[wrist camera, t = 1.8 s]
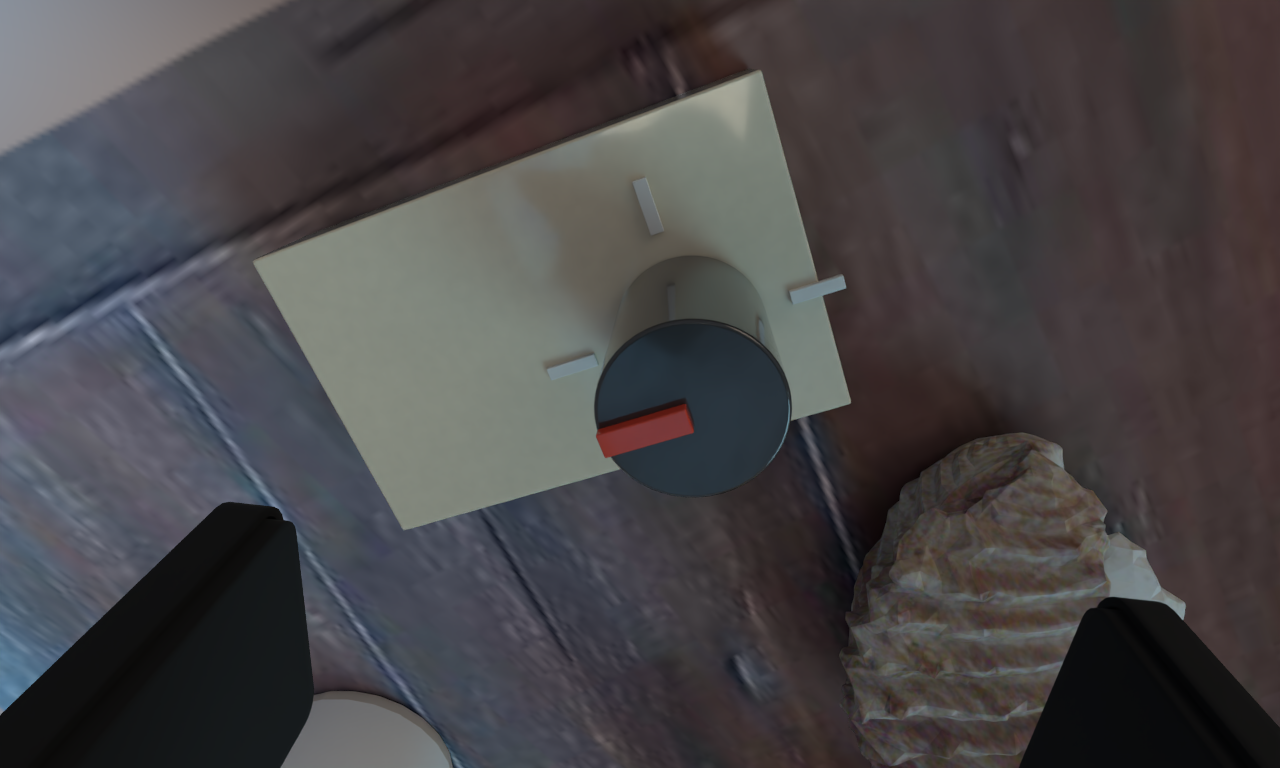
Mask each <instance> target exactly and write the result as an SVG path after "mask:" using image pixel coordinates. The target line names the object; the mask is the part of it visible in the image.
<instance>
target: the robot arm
mask: <svg viewBox="0 0 1280 768" xmlns="http://www.w3.org/2000/svg"><path fill="white" fill-rule="evenodd" d="M313 698H314V685H313V676H312V667H311V658H310V649H309V641H308V632H307V623H306V614H305V605H304V596H303V588H302V579H301V570H300V561H299V552H298V543H297V535H296V529H295V526H294V524H293V523H292V522H290V521H284V520H283V517H282V514H281V512H280V511H279V509H277V508H275V507H271V506H262V505H253V504H243V503H234V502H226V503H222V504H221V505H219V506H218V507H216V508H215V509H214V510H213V511H212V512H211V513H210V514H209V515H208V516H207V517H206V518H205V519H204V520H203V521H202V522H201V523H200V524H199V525H198V526H196V527H195V528H194V529H193V530H192V531H191V532H190V533H189V534H188V535H187V536H186V537H185V538H184V539H183V540H182V541H181V542H180V543H179V544H178V545H177V546H176V547H175V548H174V549H173V550H172V551H171V552H169V553H168V554H167V555H166V556H165V557H164V558H163V559H162V560H161V561H160V562H159V563H158V564H157V565H156V566H155V567H154V568H153V569H152V570H151V571H150V572H149V573H148V574H147V575H146V576H145V577H143V578H142V579H141V580H140V581H139V582H138V583H137V584H136V585H135V586H134V587H133V588H132V589H131V590H130V591H129V592H128V593H127V594H126V595H125V596H124V597H123V598H122V599H121V600H120V601H119V602H117V603H116V604H115V605H114V606H113V607H112V608H111V609H110V610H109V611H108V612H107V613H106V614H105V615H104V616H103V617H102V618H101V619H100V620H99V621H98V622H97V623H96V624H95V625H94V626H93V627H91V628H90V629H89V630H88V631H87V632H86V633H85V634H84V635H83V636H82V637H81V638H80V639H79V640H78V641H77V642H76V643H75V644H74V645H73V646H72V647H71V648H70V649H69V650H68V651H67V652H65V653H64V654H63V655H62V656H61V657H60V658H59V659H58V660H57V661H56V662H55V663H54V664H53V665H52V666H51V667H50V668H49V669H48V670H47V671H46V672H45V673H44V674H43V675H42V676H41V677H39V678H38V679H37V680H36V681H35V682H34V683H33V684H32V685H31V686H30V687H29V688H28V689H27V690H26V691H25V692H24V693H23V694H22V695H21V696H20V697H19V698H18V699H17V700H16V701H15V702H13V703H12V704H11V705H10V706H9V707H8V708H7V709H6V710H5V711H4V712H3V713H2V714H1V715H0V768H281V766H282V764H283V763H284V761H285V759H286V757H287V755H288V754H289V752H290V750H291V748H292V747H293V745H294V743H295V741H296V740H297V738H298V736H299V734H300V732H301V731H302V729H303V727H304V725H305V723H306V721H307V719H308V717H309V714H310V711H311V708H312V704H313ZM1019 768H1280V728H1279V726H1278V725H1277V724H1276V723H1275V722H1274V721H1273V720H1272V719H1271V718H1270V716H1269V715H1268V714H1267V713H1266V712H1265V711H1264V710H1263V709H1262V708H1261V706H1260V705H1259V704H1258V703H1257V702H1256V701H1255V700H1254V699H1253V698H1252V696H1251V695H1250V694H1249V693H1248V692H1247V691H1246V690H1245V689H1244V688H1243V686H1242V685H1241V684H1240V683H1239V682H1238V681H1237V680H1236V679H1235V678H1234V676H1233V675H1232V674H1231V673H1230V672H1229V671H1228V670H1227V669H1226V668H1225V666H1224V665H1223V664H1222V663H1221V662H1220V661H1219V660H1218V659H1217V658H1216V656H1215V655H1214V654H1213V653H1212V652H1211V651H1210V650H1209V649H1208V648H1207V646H1206V645H1205V644H1204V643H1203V642H1202V641H1201V640H1200V639H1199V638H1198V636H1197V635H1196V634H1195V633H1194V632H1193V631H1192V630H1191V629H1190V628H1189V626H1188V625H1187V624H1186V623H1185V622H1184V621H1183V620H1182V619H1181V618H1180V616H1179V615H1178V614H1177V613H1176V612H1175V611H1174V610H1173V609H1172V608H1170V607H1169V606H1168V605H1167V604H1164V603H1161V602H1158V601H1149V600H1139V599H1130V598H1121V597H1107V598H1105V599H1103V600H1102V601H1101V602H1100V603H1099V604H1098V606H1097V608H1090V609H1088V610H1087V611H1086V612H1085V614H1084V615H1083V617H1082V619H1081V621H1080V624H1079V626H1078V628H1077V631H1076V633H1075V635H1074V638H1073V640H1072V643H1071V645H1070V647H1069V650H1068V652H1067V654H1066V657H1065V659H1064V661H1063V664H1062V666H1061V668H1060V671H1059V673H1058V676H1057V678H1056V680H1055V683H1054V685H1053V687H1052V690H1051V692H1050V694H1049V697H1048V699H1047V701H1046V704H1045V706H1044V709H1043V711H1042V713H1041V716H1040V718H1039V720H1038V723H1037V725H1036V727H1035V730H1034V732H1033V734H1032V737H1031V739H1030V742H1029V744H1028V746H1027V749H1026V751H1025V753H1024V756H1023V758H1022V760H1021V763H1020V765H1019Z"/></svg>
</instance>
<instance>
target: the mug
mask: <svg viewBox="0 0 1280 768" xmlns="http://www.w3.org/2000/svg"><path fill="white" fill-rule="evenodd" d="M281 768H453V766H452V761H451V757H450V753H449V750H448V749H447V747H446V745H445V744H444V742H443V740H442V739H441V737H440V735H439V734H438V733H437V732H436V731H435V730H434V729H433V728H432V727H431V726H430V725H429V724H428V723H427V722H426V721H425V720H424V719H423V718H422V717H420V716H419V715H417V714H416V713H414V712H412V711H411V710H409V709H408V708H406V707H405V706H403V705H401V704H398V703H396V702H393V701H391V700H388V699H386V698H383V697H380V696H377V695H372V694H367V693H361V692H356V691H329V692H324V693H320V694H316V695H314V698H313V704H312V708H311V711H310V714H309V717H308V719H307V721H306V723H305V725H304V727H303V729H302V731H301V732H300V734H299V736H298V738H297V740H296V741H295V743H294V745H293V747H292V748H291V750H290V752H289V754H288V755H287V757H286V759H285V761H284V763H283V764H282V766H281Z"/></svg>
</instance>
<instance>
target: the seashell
mask: <svg viewBox="0 0 1280 768" xmlns="http://www.w3.org/2000/svg"><path fill="white" fill-rule="evenodd" d="M1062 449H1063V448H1061V447H1060V446H1059V445H1058V444H1056V443H1053V442H1050V441H1047V440H1045V439H1042V438H1040V437H1038V436H1035V435H1031V434H1027V433H1023V432H1022V433H1009V434H1003V435H997V436H991V437H984V438H978V439H975V440H973V441H970V442H968V443H966V444H964V445H961V446H959V447H958V448H956V449H955V450H953V451H952V452H951V453H949V454H948V455H947V456H946V457H945V458H943V459H941V460H939V461H937V462H936V463H934V464H933V465H931V466H930V467H928V468H927V469H925V470H924V471H922V472H921V474H920V477H919V478H917V479H915V480H912V481H910V482H908V483H906V484H905V485H904V486H903V488H902V489H901V492H900V500H899V501H898V502H897V503H896V504H895V505H893V506H892V507H891V508H890V509H889V510H888V513H887V520H886V524H885V528H884V531H883V534H882V538H881V539H880V540H879V541H878V542H877V543H876V544H875V545H874V547H873V548H872V549H871V550H870V551H869V552H868V553H867V554H866V556H865V558H864V561H863V566H862V568H861V569H860V570H859V573H858V576H857V579H856V582H855V585H854V599H853V602H852V606H851V611H847V612H846V617H845V620H846V622H847V624H848V626H849V646H848V647H844V648H842V649H841V651H840V654H839V658H840V660H841V662H842V664H843V667H844V669H845V671H846V673H847V676H848V677H847V680H846V684H845V685H843V686H842V692H843V694H844V696H845V697H844V698H843V699H842V701H841V702H840V706H841V707H842V709H843V710H844V712H845V713H846V714H847V715H848V717H849V728H850V729H851V730H852V731H853V732H854V733H855V734H856V737H857V743H858V746H859V749H860V751H861V753H862V755H863V756H864V757H865V758H866V759H868V760H869V761H870V762H871V768H1019V765H1020V763H1021V760H1022V758H1023V756H1024V753H1025V751H1026V749H1027V746H1028V744H1029V742H1030V739H1031V737H1032V734H1033V732H1034V730H1035V727H1036V725H1037V723H1038V720H1039V718H1040V716H1041V713H1042V711H1043V709H1044V706H1045V704H1046V701H1047V699H1048V697H1049V694H1050V692H1051V690H1052V687H1053V685H1054V683H1055V680H1056V678H1057V676H1058V673H1059V671H1060V668H1061V666H1062V664H1063V661H1064V659H1065V657H1066V654H1067V652H1068V650H1069V647H1070V645H1071V643H1072V640H1073V638H1074V635H1075V633H1076V631H1077V628H1078V626H1079V624H1080V621H1081V619H1082V617H1083V615H1084V614H1085V612H1086V611H1087V610H1088V609H1090V608H1097V606H1098V604H1099V603H1100V602H1101V601H1102V600H1103V599H1105V598H1107V597H1121V598H1130V599H1139V600H1149V601H1158V602H1161V603H1164V604H1167V605H1168V606H1169V607H1170V608H1172V609H1173V610H1174V611H1175V612H1176V613H1177V614H1178V615H1179V616H1180V618H1181V619H1182V620H1183V619H1184V615H1185V608H1186V605H1185V602H1183V601H1182V600H1180V599H1179V598H1177V597H1176V596H1174V595H1172V594H1171V593H1169V592H1168V591H1166V590H1165V589H1163V588H1161V587H1160V584H1159V582H1158V580H1157V577H1156V576H1155V574H1154V572H1153V570H1152V568H1151V566H1150V564H1149V562H1148V561H1147V558H1146V550H1144V549H1142V548H1141V547H1139V546H1137V545H1136V544H1134V543H1132V542H1131V541H1129V540H1128V539H1127V538H1126V537H1124V536H1123V535H1122V534H1121V533H1120V532H1117V533H1114V534H1111V535H1107V534H1106V532H1105V527H1106V525H1105V524H1104V523H1103V521H1104V518H1105V516H1106V513H1107V510H1106V508H1105V507H1104V506H1103V504H1102V503H1101V501H1100V500H1099V499H1098V497H1097V496H1096V495H1095V493H1094V492H1093V490H1089V489H1086V488H1082V487H1081V486H1080V485H1079V484H1078V483H1077V481H1076V480H1075V479H1074V478H1073V477H1072V476H1071V475H1069V474H1068V473H1067V472H1066V471H1065V470H1064V463H1063V458H1062Z"/></svg>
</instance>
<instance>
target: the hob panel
mask: <svg viewBox="0 0 1280 768" xmlns="http://www.w3.org/2000/svg"><path fill="white" fill-rule="evenodd" d="M680 256H704V257H710V258H713V259H717V260H720V261H722V262H725V263H727V264H729V265H730V266H732V267H734V268H736V269H737V270H738V271H740V272H741V273H742V274H743V275H744V276H745V277H746V278H747V279H748V280H749V281H750V282H751V283H752V284H753V286H754V287H755V288H756V290H757V291H758V293H759V295H760V297H761V299H762V302H763V304H764V307H765V310H766V313H767V316H768V320H769V323H770V326H771V329H772V332H773V336H774V339H775V342H776V345H777V348H778V352H779V355H780V358H781V361H782V364H783V368H784V371H785V374H786V377H787V380H788V384H789V388H790V392H791V399H792V416H791V421H792V420H795V419H799V418H802V417H806V416H809V415H813V414H817V413H820V412H824V411H827V410H831V409H834V408H838V407H841V406H845V405H848V404H850V403H851V399H850V395H849V391H848V388H847V384H846V380H845V377H844V373H843V369H842V366H841V362H840V358H839V354H838V351H837V347H836V343H835V340H834V336H833V332H832V329H831V325H830V321H829V318H828V314H827V310H826V307H825V303H824V299H823V295H826V294H829V293H832V292H836V291H839V290H842V289H845V288H846V285H845V281H844V277H843V275H842V274H840V275H837V276H834V277H831V278H827V279H824V280H821V281H818V277H817V273H816V270H815V266H814V262H813V259H812V255H811V251H810V248H809V244H808V240H807V237H806V233H805V229H804V225H803V222H802V218H801V214H800V211H799V207H798V203H797V200H796V196H795V192H794V189H793V185H792V181H791V178H790V174H789V170H788V166H787V163H786V159H785V155H784V152H783V148H782V144H781V141H780V137H779V133H778V130H777V126H776V122H775V119H774V115H773V111H772V107H771V104H770V100H769V96H768V93H767V89H766V85H765V82H764V78H763V74H762V72H761V70H756V69H747V70H744V71H741V72H739V73H736V74H733V75H731V76H728V77H725V78H723V79H720V80H718V81H715V82H712V83H710V84H707V85H704V86H702V87H699V88H696V89H694V90H691V91H688V92H686V93H683V94H680V95H678V96H675V97H673V98H670V99H667V100H665V101H662V102H659V103H657V104H654V105H651V106H649V107H646V108H643V109H641V110H638V111H635V112H633V113H630V114H628V115H625V116H622V117H620V118H617V119H614V120H612V121H609V122H606V123H604V124H601V125H598V126H596V127H593V128H590V129H588V130H585V131H583V132H580V133H577V134H575V135H572V136H569V137H567V138H564V139H561V140H559V141H556V142H553V143H551V144H548V145H546V146H543V147H540V148H538V149H535V150H532V151H530V152H527V153H524V154H522V155H519V156H516V157H514V158H511V159H508V160H506V161H503V162H501V163H498V164H495V165H493V166H490V167H487V168H485V169H482V170H479V171H477V172H474V173H471V174H469V175H466V176H463V177H461V178H458V179H456V180H453V181H450V182H448V183H445V184H442V185H440V186H437V187H434V188H432V189H429V190H426V191H424V192H421V193H418V194H416V195H413V196H411V197H408V198H405V199H403V200H400V201H397V202H395V203H392V204H389V205H387V206H384V207H381V208H379V209H376V210H374V211H371V212H368V213H366V214H363V215H360V216H358V217H355V218H352V219H350V220H347V221H344V222H342V223H339V224H336V225H334V226H331V227H329V228H326V229H323V230H321V231H318V232H315V233H313V234H310V235H307V236H305V237H303V238H300V239H298V240H296V241H294V242H292V243H289V244H287V245H285V246H283V247H281V248H278V249H276V250H274V251H272V252H270V253H267V254H265V255H263V256H261V257H259V258H256V259H254V260H253V264H254V266H255V268H256V269H257V271H258V273H259V275H260V277H261V278H262V280H263V282H264V284H265V285H266V287H267V289H268V291H269V293H270V294H271V296H272V298H273V300H274V301H275V303H276V305H277V307H278V309H279V310H280V312H281V314H282V316H283V317H284V319H285V321H286V323H287V325H288V326H289V328H290V330H291V332H292V333H293V335H294V337H295V339H296V341H297V342H298V344H299V346H300V348H301V349H302V351H303V353H304V355H305V357H306V358H307V360H308V362H309V364H310V365H311V367H312V369H313V371H314V373H315V374H316V376H317V378H318V380H319V381H320V383H321V385H322V387H323V389H324V390H325V392H326V394H327V396H328V397H329V399H330V401H331V403H332V405H333V406H334V408H335V410H336V412H337V413H338V415H339V417H340V419H341V421H342V422H343V424H344V426H345V428H346V429H347V431H348V433H349V435H350V437H351V438H352V440H353V442H354V444H355V445H356V447H357V449H358V451H359V453H360V454H361V456H362V458H363V460H364V461H365V463H366V465H367V467H368V468H369V470H370V472H371V474H372V476H373V477H374V479H375V481H376V483H377V484H378V486H379V488H380V490H381V492H382V493H383V495H384V497H385V499H386V500H387V502H388V504H389V506H390V508H391V509H392V511H393V513H394V515H395V516H396V518H397V520H398V522H399V524H400V525H401V527H402V529H403V530H407V529H411V528H415V527H418V526H422V525H425V524H429V523H432V522H436V521H439V520H443V519H446V518H450V517H453V516H457V515H460V514H464V513H467V512H471V511H474V510H478V509H482V508H485V507H489V506H492V505H496V504H499V503H503V502H506V501H510V500H513V499H517V498H520V497H524V496H527V495H531V494H534V493H538V492H541V491H545V490H549V489H552V488H556V487H559V486H563V485H566V484H570V483H573V482H577V481H580V480H584V479H587V478H591V477H594V476H598V475H601V474H605V473H608V472H612V471H616V470H619V469H620V468H619V467H618V465H617V464H616V463H615V462H614V461H613V460H612V459H611V457H608V458H605V457H604V455H603V453H602V450H601V448H600V446H599V443H598V441H597V438H596V433H597V429H596V424H595V418H594V397H595V391H596V387H597V383H598V379H599V376H600V372H601V369H602V365H603V362H604V358H605V355H606V351H607V347H608V344H609V340H610V337H611V333H612V330H613V326H614V323H615V319H616V315H617V312H618V308H619V305H620V303H621V300H622V298H623V296H624V294H625V293H626V291H627V289H628V288H629V286H630V285H631V284H632V283H633V281H634V280H635V279H636V278H637V277H638V276H639V275H640V274H642V273H643V272H644V271H646V270H647V269H648V268H650V267H652V266H654V265H655V264H657V263H659V262H662V261H664V260H667V259H671V258H674V257H680Z"/></svg>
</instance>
